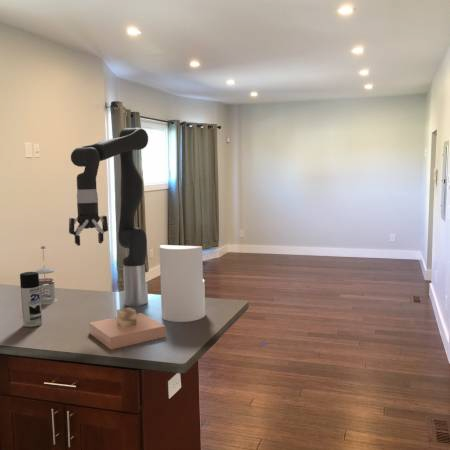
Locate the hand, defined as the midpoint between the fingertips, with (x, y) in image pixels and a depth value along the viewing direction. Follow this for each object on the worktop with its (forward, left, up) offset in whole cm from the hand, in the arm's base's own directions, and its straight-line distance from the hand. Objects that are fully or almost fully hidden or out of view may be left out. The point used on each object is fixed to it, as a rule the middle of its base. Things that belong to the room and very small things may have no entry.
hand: (89, 244), depth 191 cm
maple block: (-4, +23, -26) cm, 35 cm away
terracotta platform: (-4, +23, -30) cm, 38 cm away
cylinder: (-32, +14, -30) cm, 46 cm away
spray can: (+20, -10, -30) cm, 38 cm away
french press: (+7, -43, -30) cm, 53 cm away
